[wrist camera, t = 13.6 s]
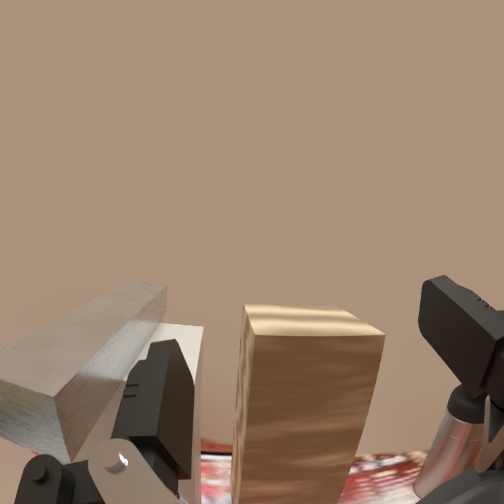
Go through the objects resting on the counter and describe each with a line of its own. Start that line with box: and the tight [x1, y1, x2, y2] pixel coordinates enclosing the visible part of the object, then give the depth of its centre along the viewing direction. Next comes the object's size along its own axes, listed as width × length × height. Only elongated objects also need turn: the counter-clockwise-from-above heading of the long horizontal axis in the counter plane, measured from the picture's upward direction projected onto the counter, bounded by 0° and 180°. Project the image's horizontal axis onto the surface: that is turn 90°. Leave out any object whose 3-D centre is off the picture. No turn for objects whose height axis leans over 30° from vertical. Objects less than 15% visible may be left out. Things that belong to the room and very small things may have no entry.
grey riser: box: [38, 323, 203, 504], centre depth 21 cm, size 12×12×32 cm
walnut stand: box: [230, 303, 385, 504], centre depth 34 cm, size 13×13×32 cm
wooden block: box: [0, 281, 167, 464], centre depth 18 cm, size 23×4×3 cm, turn 6°
